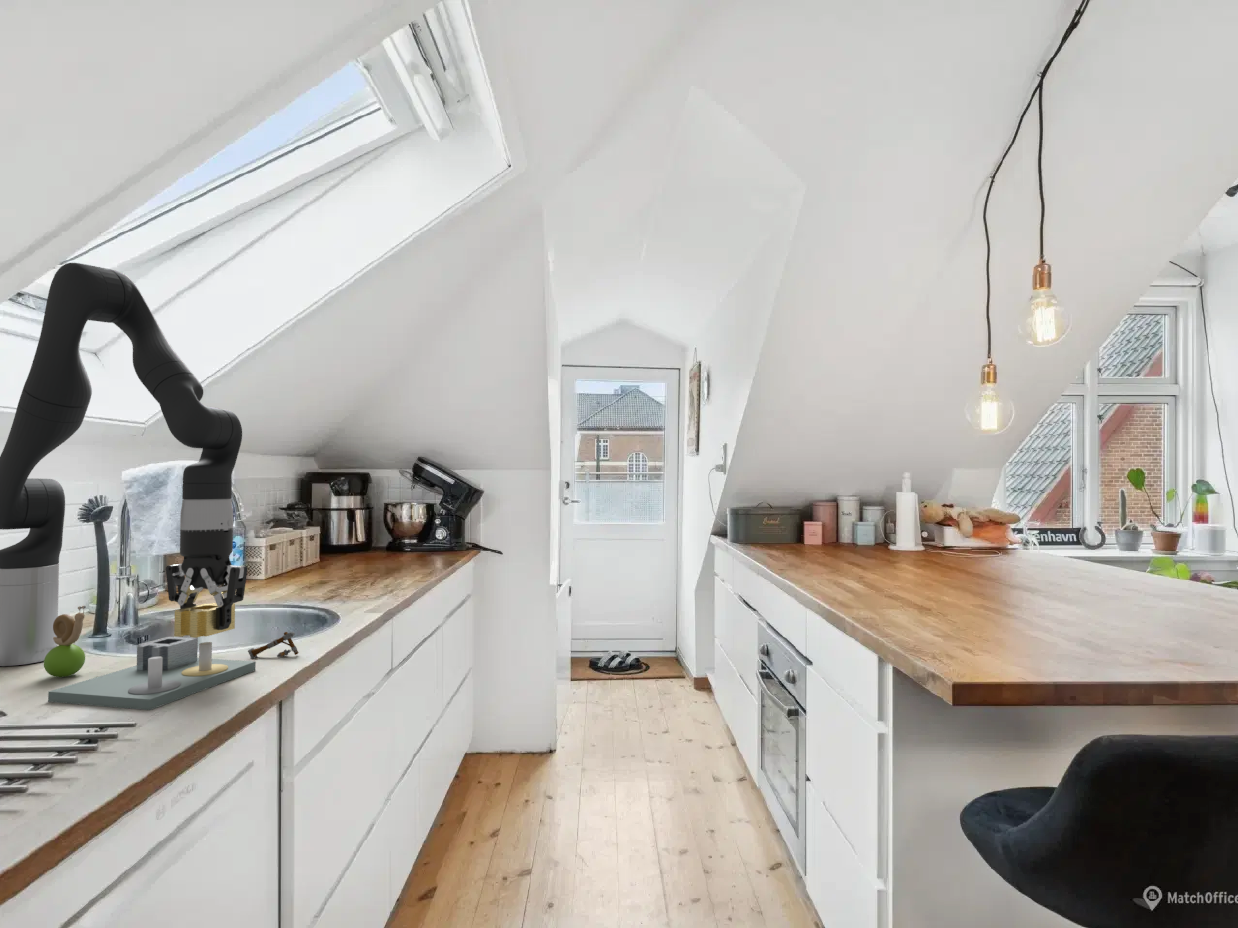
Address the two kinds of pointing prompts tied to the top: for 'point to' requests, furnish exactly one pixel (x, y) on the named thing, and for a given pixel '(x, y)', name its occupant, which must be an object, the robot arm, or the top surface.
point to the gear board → (132, 677)
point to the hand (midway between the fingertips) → (205, 627)
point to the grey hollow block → (168, 652)
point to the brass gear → (199, 621)
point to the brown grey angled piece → (286, 636)
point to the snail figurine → (66, 646)
